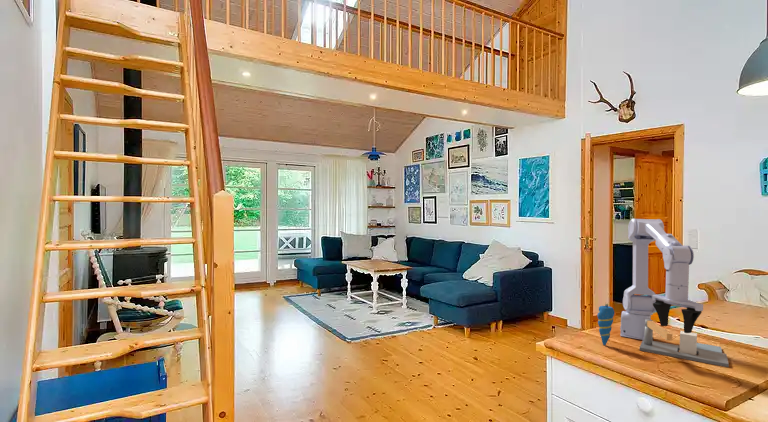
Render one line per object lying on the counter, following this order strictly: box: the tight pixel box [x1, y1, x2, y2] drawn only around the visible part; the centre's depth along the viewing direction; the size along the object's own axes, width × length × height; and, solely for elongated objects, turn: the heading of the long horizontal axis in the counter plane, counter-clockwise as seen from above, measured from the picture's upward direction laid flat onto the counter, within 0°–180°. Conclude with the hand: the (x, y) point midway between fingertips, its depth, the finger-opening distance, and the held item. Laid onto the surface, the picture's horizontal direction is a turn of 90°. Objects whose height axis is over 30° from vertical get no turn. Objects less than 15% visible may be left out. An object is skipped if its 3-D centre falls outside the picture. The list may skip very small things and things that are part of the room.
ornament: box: [596, 303, 615, 346], centre depth 144 cm, size 5×5×15 cm
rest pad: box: [697, 342, 723, 353], centre depth 144 cm, size 8×8×1 cm
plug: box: [679, 330, 698, 355], centre depth 137 cm, size 4×4×7 cm
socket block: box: [638, 326, 729, 368], centre depth 138 cm, size 23×12×7 cm, turn 53°
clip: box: [645, 319, 673, 342], centre depth 136 cm, size 18×2×2 cm, turn 166°
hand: (675, 329), depth 129 cm, fingers open, 7 cm apart
